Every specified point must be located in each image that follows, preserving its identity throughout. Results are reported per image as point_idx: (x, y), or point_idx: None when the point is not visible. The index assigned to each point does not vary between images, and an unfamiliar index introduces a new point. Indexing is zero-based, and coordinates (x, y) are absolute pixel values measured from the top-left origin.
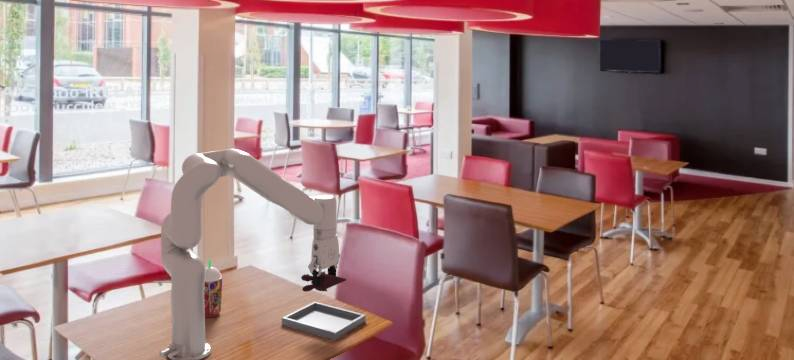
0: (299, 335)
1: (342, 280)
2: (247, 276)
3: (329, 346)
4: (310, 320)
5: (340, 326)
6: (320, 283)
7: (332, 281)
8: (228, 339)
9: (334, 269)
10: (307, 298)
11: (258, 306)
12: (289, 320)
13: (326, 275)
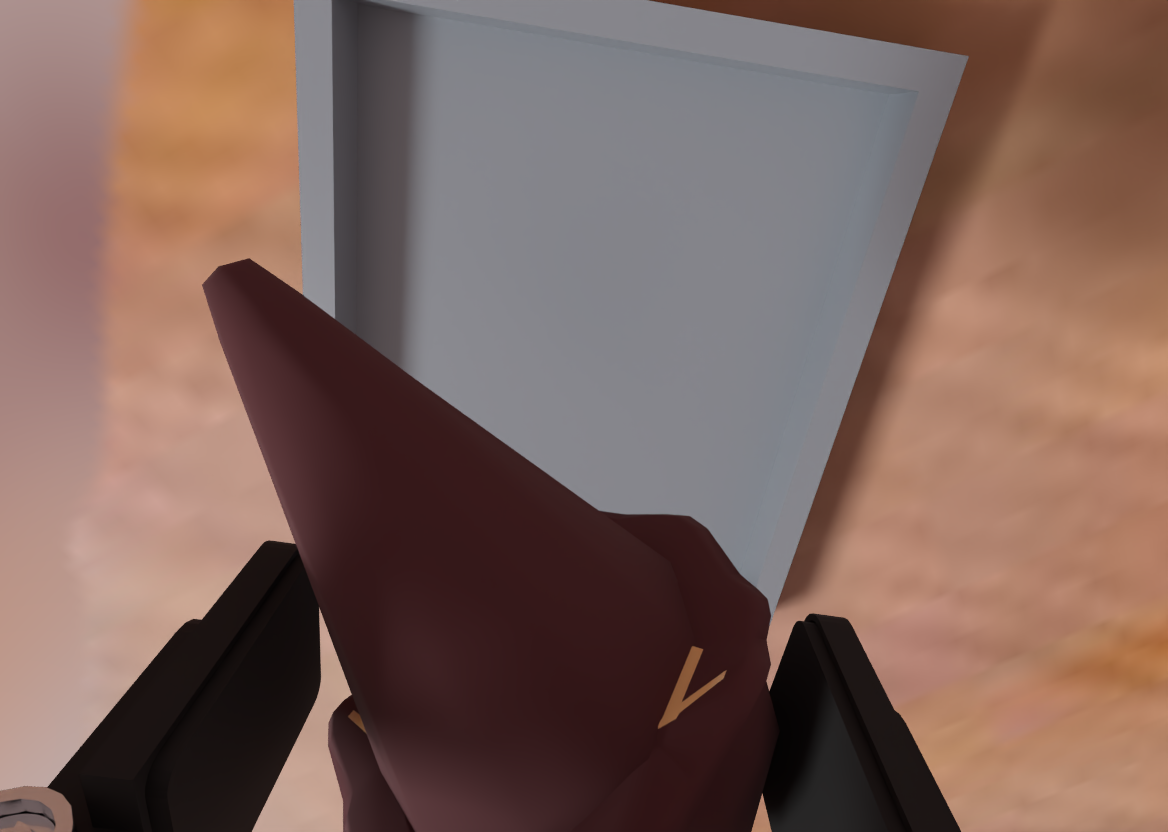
0: (897, 425)
1: (342, 339)
2: None
3: (1087, 45)
4: (603, 479)
5: (612, 163)
6: (879, 685)
7: (567, 529)
8: (1071, 769)
9: (139, 805)
10: None
11: None
12: (775, 598)
13: (555, 779)
